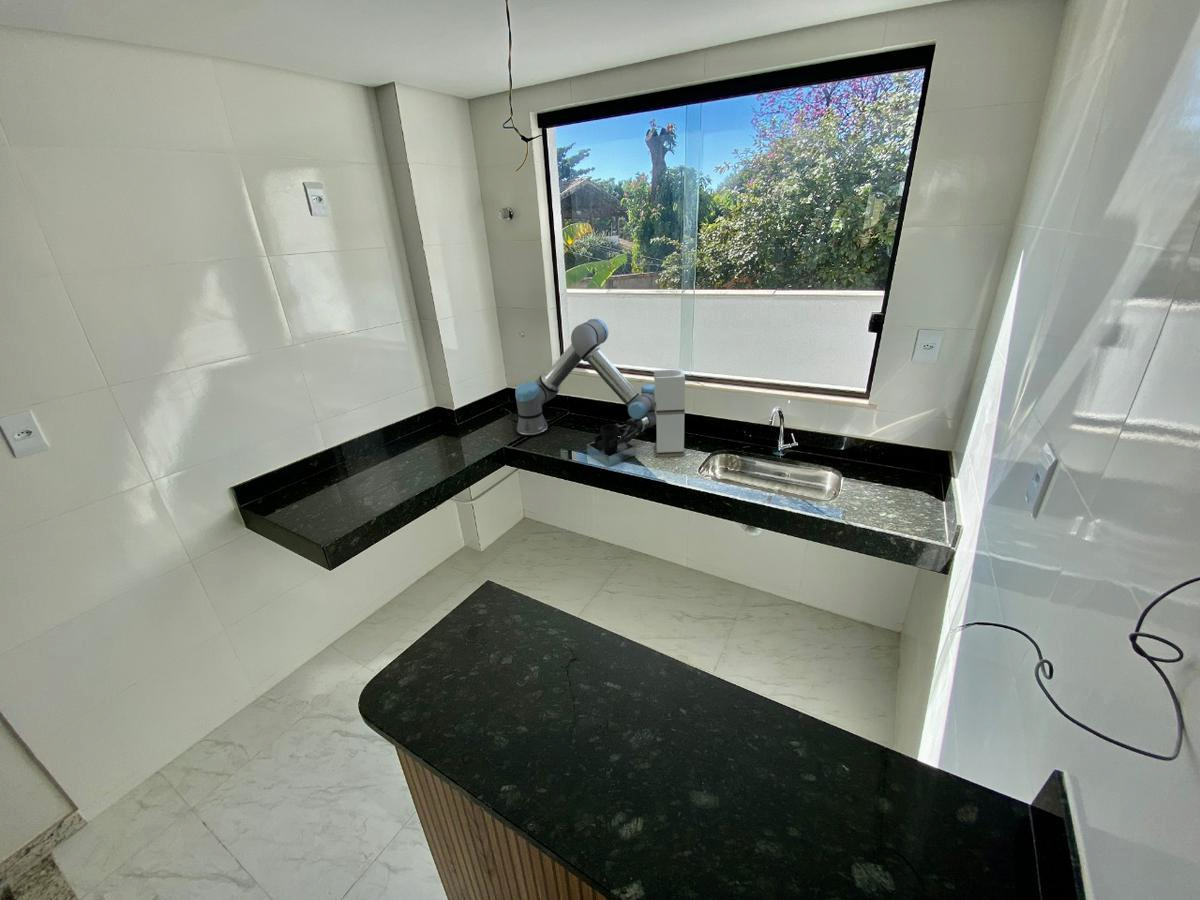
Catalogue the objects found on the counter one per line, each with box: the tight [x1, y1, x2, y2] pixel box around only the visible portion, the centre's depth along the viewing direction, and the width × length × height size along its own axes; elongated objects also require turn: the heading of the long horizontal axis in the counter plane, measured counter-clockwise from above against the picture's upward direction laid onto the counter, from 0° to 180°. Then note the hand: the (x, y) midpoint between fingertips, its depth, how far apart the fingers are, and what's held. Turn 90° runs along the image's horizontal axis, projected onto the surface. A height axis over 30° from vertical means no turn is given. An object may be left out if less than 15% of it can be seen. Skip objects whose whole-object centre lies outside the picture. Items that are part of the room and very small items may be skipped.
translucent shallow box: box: [586, 440, 636, 467], centre depth 210 cm, size 16×14×4 cm
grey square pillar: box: [653, 368, 686, 458], centre depth 204 cm, size 11×11×35 cm
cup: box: [599, 423, 619, 456], centre depth 208 cm, size 8×8×12 cm
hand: (602, 442), depth 205 cm, fingers closed on cup, 8 cm apart
